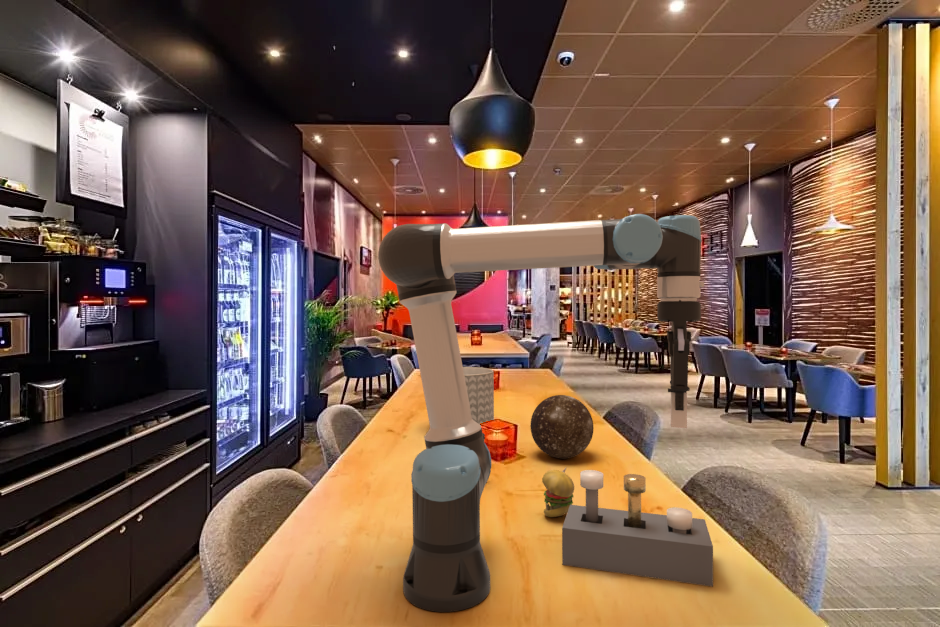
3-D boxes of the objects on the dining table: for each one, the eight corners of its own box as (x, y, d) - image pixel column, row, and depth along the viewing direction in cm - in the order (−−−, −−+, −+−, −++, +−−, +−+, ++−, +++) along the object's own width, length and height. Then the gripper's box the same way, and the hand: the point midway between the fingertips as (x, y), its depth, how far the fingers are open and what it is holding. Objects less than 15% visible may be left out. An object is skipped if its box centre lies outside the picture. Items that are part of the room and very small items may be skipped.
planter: (419, 437, 195) (419, 373, 194) (442, 423, 219) (442, 366, 218) (484, 442, 187) (483, 375, 187) (500, 426, 211) (500, 367, 211)
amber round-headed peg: (645, 533, 98) (645, 481, 97) (623, 530, 99) (623, 479, 99) (645, 524, 101) (645, 475, 101) (624, 522, 103) (623, 473, 102)
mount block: (713, 586, 90) (712, 546, 90) (562, 564, 98) (562, 527, 98) (704, 555, 102) (704, 519, 102) (570, 537, 110) (570, 504, 110)
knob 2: (693, 570, 95) (693, 517, 95) (667, 567, 96) (667, 515, 96) (691, 559, 99) (691, 508, 99) (666, 556, 100) (666, 506, 100)
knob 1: (602, 528, 100) (602, 478, 100) (579, 525, 101) (579, 476, 101) (604, 519, 104) (604, 471, 104) (581, 516, 105) (581, 469, 105)
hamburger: (553, 508, 126) (552, 458, 126) (580, 515, 121) (580, 464, 121) (536, 518, 120) (535, 466, 120) (564, 526, 115) (563, 472, 115)
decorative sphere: (606, 462, 162) (606, 398, 162) (550, 470, 155) (550, 403, 155) (571, 446, 181) (571, 388, 181) (519, 452, 174) (519, 392, 173)
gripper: (704, 299, 90) (704, 436, 90) (697, 300, 102) (696, 420, 102) (658, 300, 92) (658, 433, 92) (656, 300, 104) (656, 418, 105)
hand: (678, 426), depth 97 cm, fingers closed
